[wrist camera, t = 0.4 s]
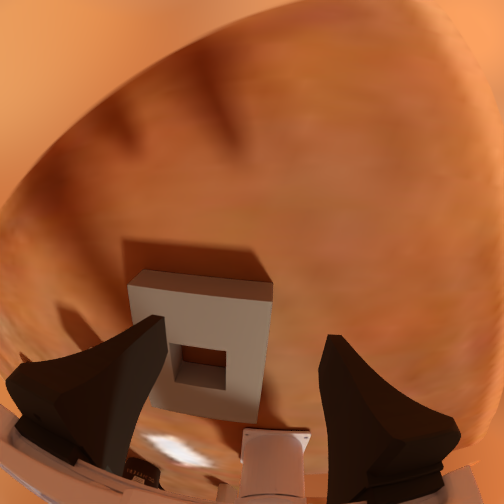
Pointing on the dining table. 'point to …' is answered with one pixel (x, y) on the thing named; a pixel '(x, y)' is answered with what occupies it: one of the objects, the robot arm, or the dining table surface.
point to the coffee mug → (142, 473)
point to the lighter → (226, 494)
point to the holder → (207, 341)
